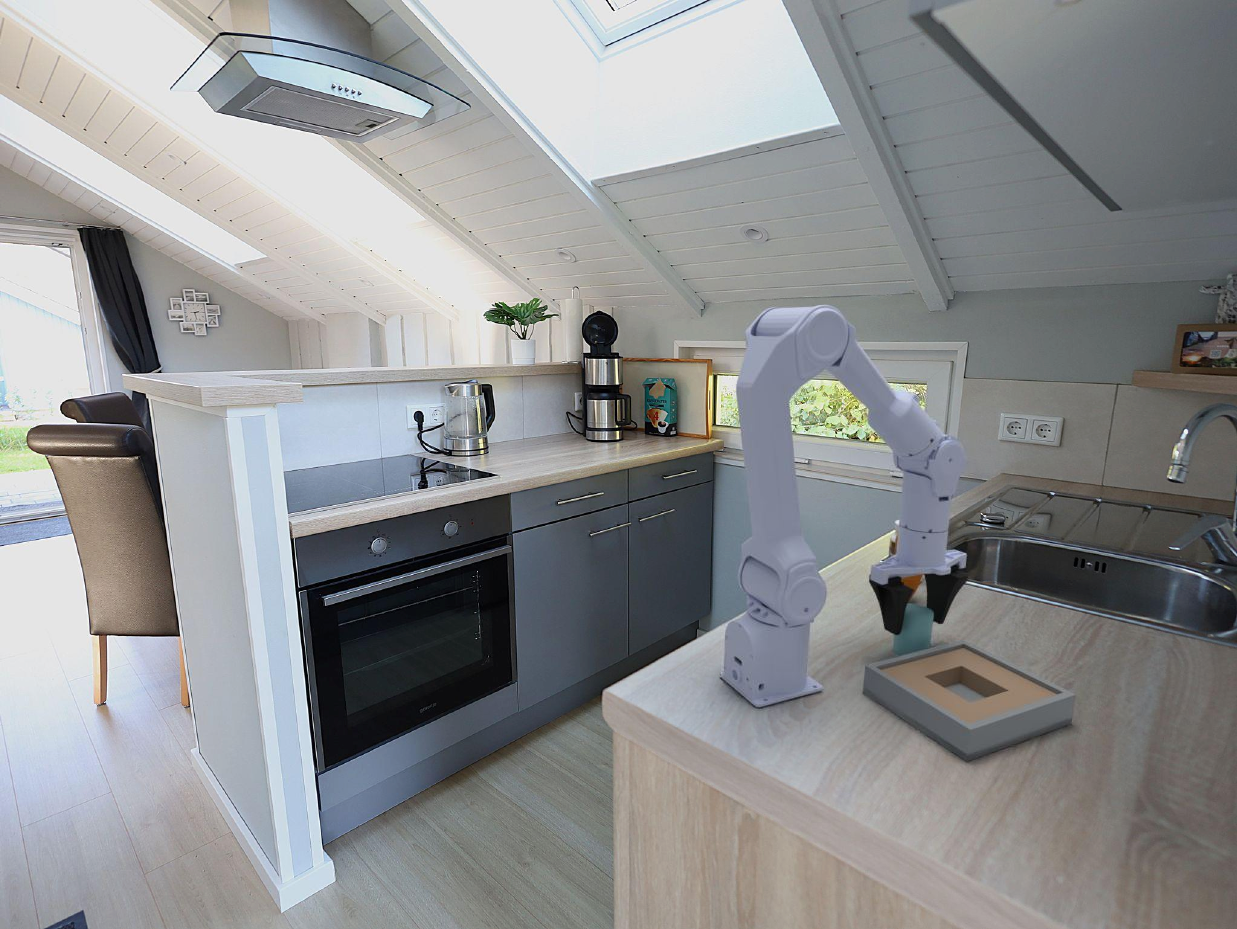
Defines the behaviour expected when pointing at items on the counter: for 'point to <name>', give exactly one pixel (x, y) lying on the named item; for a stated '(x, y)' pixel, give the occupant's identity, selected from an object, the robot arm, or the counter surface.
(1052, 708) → the bore box
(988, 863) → the counter surface
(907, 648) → the teal peg
